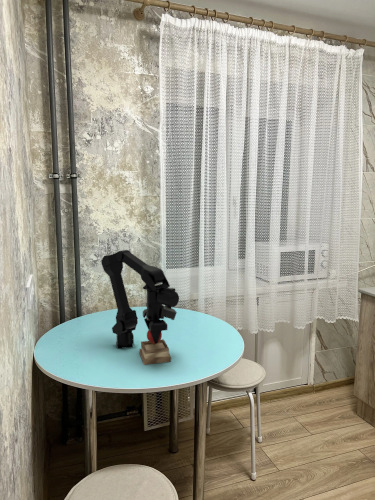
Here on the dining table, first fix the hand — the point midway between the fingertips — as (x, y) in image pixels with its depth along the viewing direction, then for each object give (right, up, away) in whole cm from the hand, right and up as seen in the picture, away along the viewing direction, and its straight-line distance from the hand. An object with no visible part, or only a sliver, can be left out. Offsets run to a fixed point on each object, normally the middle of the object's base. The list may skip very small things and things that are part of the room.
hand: (154, 340), depth 146 cm
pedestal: (0, -7, +1) cm, 7 cm away
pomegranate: (0, -2, 0) cm, 2 cm away
